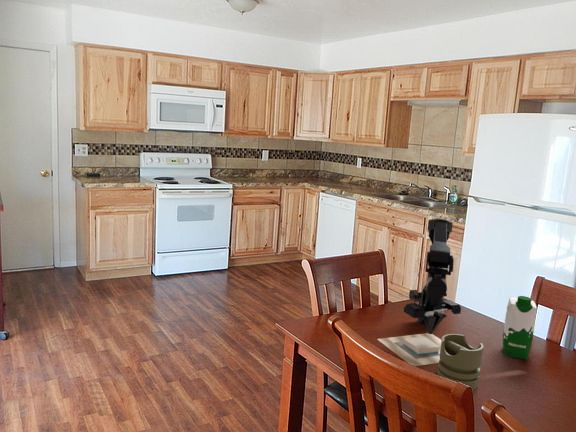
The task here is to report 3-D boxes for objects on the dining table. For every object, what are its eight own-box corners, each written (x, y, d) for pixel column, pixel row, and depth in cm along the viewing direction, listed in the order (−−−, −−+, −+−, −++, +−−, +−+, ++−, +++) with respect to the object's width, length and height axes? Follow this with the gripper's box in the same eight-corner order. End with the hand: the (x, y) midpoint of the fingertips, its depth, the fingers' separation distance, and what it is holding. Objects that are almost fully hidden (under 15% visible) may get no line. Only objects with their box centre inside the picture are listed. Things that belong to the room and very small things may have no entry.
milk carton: (501, 356, 165) (510, 297, 161) (499, 345, 173) (508, 289, 170) (530, 361, 162) (540, 302, 159) (527, 350, 171) (536, 294, 167)
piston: (466, 353, 136) (433, 337, 145) (460, 394, 138) (428, 376, 147) (491, 346, 142) (458, 331, 152) (485, 385, 144) (453, 368, 154)
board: (429, 336, 177) (430, 332, 177) (470, 361, 159) (470, 358, 159) (376, 342, 169) (376, 339, 168) (412, 370, 151) (413, 366, 150)
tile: (423, 336, 168) (403, 338, 165) (439, 346, 161) (419, 349, 158) (423, 342, 169) (403, 344, 166) (438, 352, 161) (418, 355, 158)
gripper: (442, 278, 172) (436, 321, 175) (396, 281, 165) (391, 326, 167) (465, 289, 162) (458, 334, 165) (417, 292, 155) (411, 340, 157)
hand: (429, 333), depth 164 cm, fingers closed
